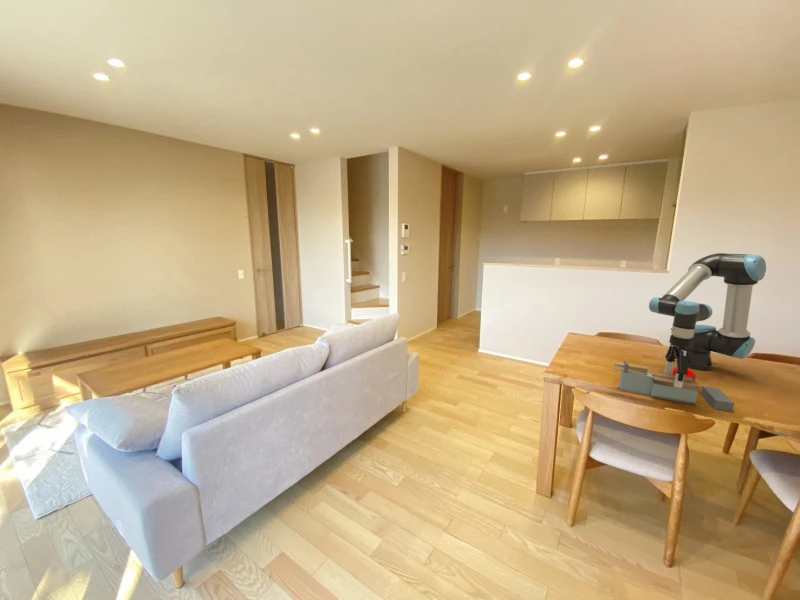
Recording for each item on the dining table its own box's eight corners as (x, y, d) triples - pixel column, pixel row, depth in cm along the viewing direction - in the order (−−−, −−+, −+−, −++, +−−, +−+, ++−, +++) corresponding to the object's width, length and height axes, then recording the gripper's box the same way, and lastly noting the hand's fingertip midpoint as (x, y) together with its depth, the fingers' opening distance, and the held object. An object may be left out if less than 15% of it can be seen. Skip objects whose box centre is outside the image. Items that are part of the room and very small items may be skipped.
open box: (646, 389, 158) (648, 375, 156) (688, 396, 151) (691, 382, 150) (650, 397, 150) (653, 383, 149) (695, 404, 144) (698, 390, 142)
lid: (648, 375, 157) (648, 371, 156) (690, 381, 150) (691, 377, 150) (654, 383, 148) (654, 379, 148) (699, 391, 142) (700, 386, 141)
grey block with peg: (619, 386, 160) (623, 361, 157) (647, 391, 156) (652, 365, 153) (620, 390, 157) (624, 364, 154) (649, 395, 152) (654, 368, 149)
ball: (686, 380, 167) (689, 366, 165) (696, 388, 159) (699, 373, 157) (668, 379, 168) (671, 365, 167) (677, 386, 161) (680, 371, 159)
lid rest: (700, 394, 153) (702, 386, 152) (717, 396, 151) (719, 388, 150) (713, 408, 141) (715, 400, 140) (732, 411, 138) (734, 403, 137)
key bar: (614, 368, 159) (615, 362, 158) (645, 372, 154) (646, 366, 153) (615, 370, 157) (616, 364, 156) (646, 374, 152) (647, 368, 151)
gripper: (662, 327, 157) (654, 368, 162) (681, 343, 135) (671, 390, 139) (682, 329, 154) (673, 371, 159) (704, 346, 132) (693, 394, 136)
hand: (672, 380), depth 149 cm, fingers open, 13 cm apart
